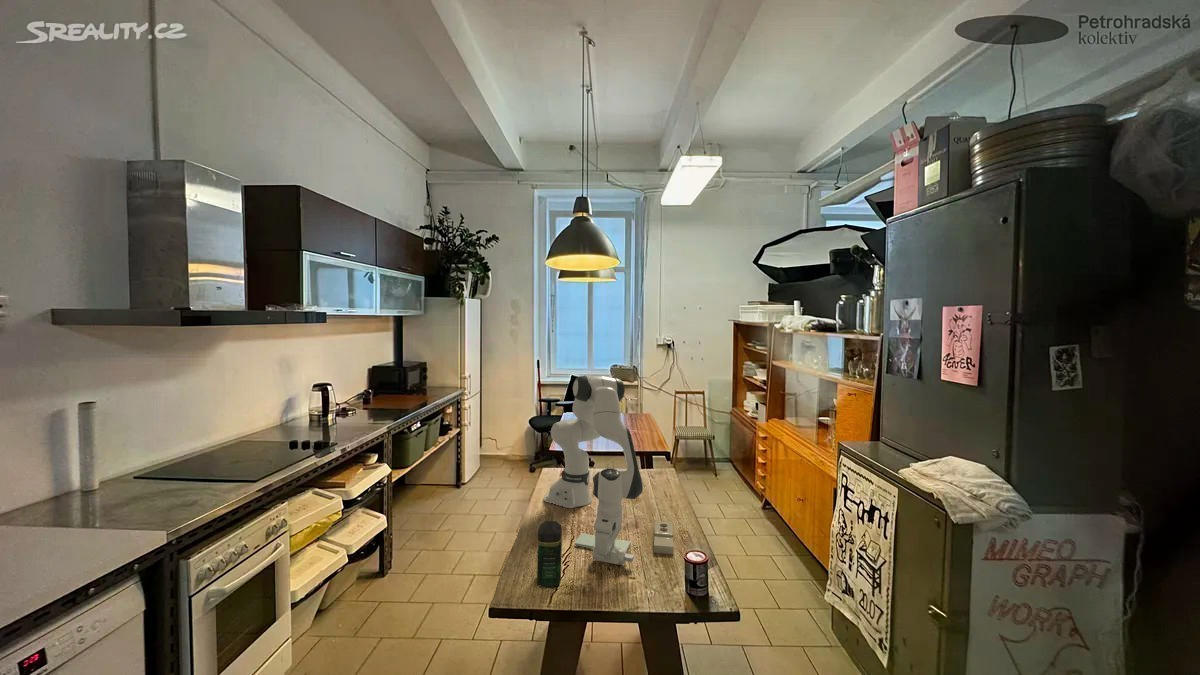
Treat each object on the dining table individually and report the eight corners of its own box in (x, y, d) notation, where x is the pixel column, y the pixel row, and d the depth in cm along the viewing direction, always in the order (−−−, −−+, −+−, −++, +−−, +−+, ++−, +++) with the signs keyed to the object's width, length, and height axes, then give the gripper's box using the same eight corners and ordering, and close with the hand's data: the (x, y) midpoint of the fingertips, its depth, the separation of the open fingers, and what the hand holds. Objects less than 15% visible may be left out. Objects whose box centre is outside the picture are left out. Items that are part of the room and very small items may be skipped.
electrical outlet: (654, 542, 165) (654, 520, 183) (653, 553, 165) (654, 530, 183) (673, 544, 164) (672, 522, 182) (673, 555, 164) (672, 531, 182)
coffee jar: (560, 588, 142) (561, 532, 141) (535, 589, 142) (536, 532, 141) (562, 571, 152) (562, 518, 151) (538, 571, 152) (539, 518, 151)
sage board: (574, 545, 169) (574, 542, 169) (581, 536, 177) (581, 533, 176) (625, 555, 163) (625, 552, 163) (630, 544, 170) (630, 541, 170)
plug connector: (591, 559, 157) (591, 548, 157) (594, 553, 161) (594, 542, 161) (631, 567, 153) (631, 555, 153) (634, 561, 157) (634, 550, 157)
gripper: (609, 503, 167) (609, 538, 168) (592, 528, 148) (591, 568, 149) (625, 505, 166) (625, 541, 166) (610, 531, 146) (609, 571, 147)
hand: (609, 554), depth 157 cm, fingers closed on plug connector, 4 cm apart
